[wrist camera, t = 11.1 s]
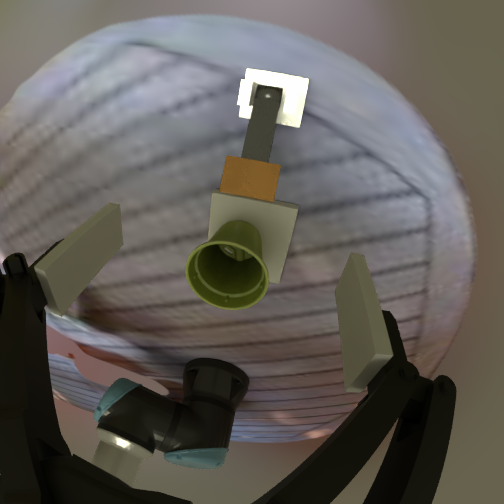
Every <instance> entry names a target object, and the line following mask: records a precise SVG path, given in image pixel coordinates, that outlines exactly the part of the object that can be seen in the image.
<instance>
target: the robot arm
mask: <svg viewBox="0 0 504 504" xmlns="http://www.w3.org/2000/svg"><path fill="white" fill-rule="evenodd" d="M122 246H123V235H122V224H121V212H120V204H114V203H109V204H107V205H106V206H105V207H103V208H102V209H101V210H99V211H98V212H97V213H95V214H94V215H93V216H92V217H90V218H89V219H88V220H87V221H85V222H84V223H83V224H82V225H80V226H79V227H78V228H77V229H76V230H74V231H73V232H72V233H71V234H70V235H68V236H67V237H66V238H65V239H62V240H60V241H58V242H56V243H55V244H54V245H53V246H51V247H50V249H48V250H47V251H46V252H45V254H43V255H41V256H40V257H39V258H38V259H37V260H36V261H35V262H34V263H33V264H32V265H31V266H30V267H29V268H28V265H27V262H26V259H25V256H24V254H23V253H14V254H11V255H10V256H8V257H7V258H6V259H5V260H4V261H3V263H2V264H3V267H4V270H5V272H6V275H4V274H2V272H1V269H0V474H1V475H0V504H193V503H192V502H191V501H188V500H184V499H180V498H177V497H173V496H170V495H167V494H164V493H161V492H155V491H147V490H140V489H134V488H133V486H134V483H135V480H136V477H137V474H138V471H139V468H140V465H141V462H142V460H144V459H146V458H149V457H151V456H153V453H154V450H155V449H157V450H159V451H162V452H164V459H165V460H166V461H168V462H171V463H173V464H177V465H180V466H185V467H190V468H198V469H216V468H219V467H221V466H222V465H223V464H224V461H225V457H226V453H227V452H228V450H229V449H228V446H229V441H230V436H231V431H232V426H233V421H234V416H235V411H236V409H237V408H238V406H239V404H240V403H241V401H242V400H243V398H244V396H245V395H246V393H247V390H248V385H249V379H248V377H247V376H246V374H245V373H244V372H243V371H242V370H240V369H239V368H237V367H235V366H233V365H231V364H229V363H226V362H223V361H220V360H215V359H196V360H193V361H190V362H189V363H188V364H187V365H186V367H185V370H184V373H183V392H184V397H183V400H182V403H179V402H176V401H174V400H172V399H169V398H167V397H165V396H163V395H160V394H158V393H156V392H154V391H152V390H150V389H148V388H146V387H144V386H142V385H141V384H138V383H135V382H133V381H131V380H129V379H126V378H120V379H118V380H116V381H115V382H114V383H113V384H112V385H111V386H110V387H109V389H108V390H107V391H106V393H105V394H104V396H103V397H102V399H101V401H100V402H99V406H98V407H97V409H96V410H95V413H94V419H95V420H96V422H98V423H99V424H98V426H97V429H96V431H97V433H98V436H99V438H100V442H99V444H98V447H97V449H96V452H95V454H94V457H93V459H92V462H91V463H89V462H87V461H86V460H84V459H82V458H80V457H78V456H77V455H75V454H73V456H72V455H71V453H70V450H69V448H68V445H67V444H66V442H65V440H64V439H63V437H62V435H61V432H60V428H59V424H58V419H57V414H56V409H55V404H54V399H53V393H52V386H51V379H50V372H49V362H48V351H47V339H46V338H47V337H46V312H45V309H44V307H45V305H46V304H47V303H48V305H49V308H50V310H51V312H53V313H55V314H57V315H59V316H61V317H62V316H63V315H64V313H65V312H66V311H67V309H68V308H69V307H70V306H71V304H72V303H73V302H74V301H75V299H76V298H77V297H78V296H79V294H80V293H81V292H82V291H83V290H84V288H85V287H86V286H87V285H88V284H89V283H90V281H91V280H92V279H93V278H94V277H95V276H96V274H97V273H98V272H99V271H100V270H101V269H102V268H103V266H104V265H105V264H106V263H107V262H108V261H109V260H110V259H111V258H112V256H113V255H114V254H115V253H116V252H117V251H118V250H119V249H120V248H121V247H122ZM335 297H336V304H337V312H338V320H339V329H340V338H341V348H342V359H343V371H344V385H345V391H347V392H362V391H363V390H364V389H365V387H366V386H367V387H368V394H367V395H366V396H365V397H364V398H363V399H362V400H361V401H360V402H359V403H358V404H357V405H358V406H357V407H356V408H355V409H354V410H353V412H352V413H351V414H350V415H349V416H348V417H347V418H346V420H345V421H344V422H343V423H342V424H341V425H340V426H339V427H338V428H337V429H336V430H335V431H334V433H333V434H332V435H331V436H330V437H329V438H328V439H327V440H326V441H325V442H324V443H323V444H322V445H321V446H320V447H319V448H318V449H317V450H316V451H315V452H314V453H313V454H312V455H310V456H309V457H308V458H307V459H306V460H305V461H304V462H303V463H302V464H301V465H300V466H298V467H297V468H296V469H295V470H294V471H293V472H292V473H290V474H289V475H288V476H287V477H286V478H284V479H283V480H282V481H281V482H280V483H278V484H277V485H276V486H275V487H273V488H272V489H271V490H269V492H267V493H266V494H264V495H263V496H262V497H260V498H259V499H258V500H256V501H255V502H253V503H252V504H330V503H331V502H332V501H333V500H334V499H335V498H336V497H337V496H338V495H339V494H340V492H341V491H342V490H343V489H344V488H345V487H346V486H347V485H348V484H349V483H350V482H351V480H352V479H353V478H354V477H355V475H357V473H358V472H359V471H360V470H361V469H362V467H363V466H364V465H365V464H366V462H367V461H368V460H369V459H370V457H371V456H372V455H373V453H374V452H375V451H376V449H377V448H378V446H379V445H380V444H381V442H382V441H383V440H384V438H385V437H386V435H387V434H388V432H389V431H390V430H391V428H392V427H393V425H394V423H395V422H396V420H397V419H398V418H399V419H398V422H397V425H396V428H395V431H394V434H393V437H392V439H391V442H390V445H389V447H388V450H387V453H386V455H385V458H384V460H383V463H382V465H381V467H380V469H379V471H378V474H377V476H376V478H375V481H374V482H373V485H372V487H371V489H370V491H369V493H368V495H367V497H366V499H365V500H364V503H363V504H432V501H433V498H434V496H435V493H436V489H437V487H438V483H439V480H440V477H441V473H442V469H443V466H444V462H445V458H446V454H447V449H448V444H449V440H450V435H451V429H452V423H453V416H454V409H455V401H456V386H455V384H454V382H453V381H452V380H451V379H450V378H449V377H447V376H444V375H440V376H438V377H437V378H436V379H435V380H434V381H432V380H429V379H427V378H424V377H421V376H420V375H419V372H418V370H417V368H416V367H415V366H414V365H413V364H412V363H410V362H408V361H407V357H406V354H405V350H404V346H403V343H402V339H401V337H400V332H399V330H398V326H397V322H396V319H395V318H394V317H393V315H392V314H391V312H390V311H385V310H381V307H380V303H379V300H378V297H377V293H376V290H375V287H374V284H373V281H372V278H371V274H370V271H369V268H368V266H367V263H366V260H365V257H364V255H360V254H356V253H352V252H351V254H350V257H349V259H348V262H347V264H346V266H345V269H344V271H343V274H342V276H341V278H340V281H339V283H338V285H337V287H336V290H335Z"/></svg>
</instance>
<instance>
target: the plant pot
mask: <svg viewBox="0 0 504 504" xmlns="http://www.w3.org/2000/svg"><path fill="white" fill-rule="evenodd" d="M224 248H227V249H228V250H229V251H230V252H232V254H230V253H228V252H227V251H226V250H225V249H224ZM248 253H250V254H248ZM185 273H186V278H187V281H188V283H189V285H190V287H191V289H192V290H193V291H194V293H195V294H196V295H197V296H198V297H199V298H201V299H202V300H203V301H205V302H206V303H208V304H210V305H213V306H215V307H218V308H221V309H227V310H240V309H245V308H248V307H251V306H253V305H255V304H256V303H258V302H259V301H260V300H261V299H262V298H263V297H264V295H265V293H266V292H267V289H268V285H269V273H268V270H267V267H266V265H265V263H264V262H263V259H262V241H261V236H260V234H259V232H258V230H257V229H256V228H255V227H254V226H253V225H251V224H250V223H248V222H245V221H229V222H227V223H225V224H224V225H222V226H221V228H220V229H219V230H218V231H217V232H216V233H215V234H214V236H213V237H212V238H211V239H210V240H209V241H208V242H206V243H204V244H202V245H200V246H198V247H197V248H196V249H195V250H194V251H193V252H192V253H191V254H190V256H189V258H188V260H187V262H186V268H185Z"/></svg>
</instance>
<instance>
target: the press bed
mask: <svg viewBox="0 0 504 504" xmlns="http://www.w3.org/2000/svg"><path fill="white" fill-rule="evenodd" d="M297 213H298V205H295V204H291V203H286V202H281V201H276V200H274V202H273V203H270V202H265V201H260V200H255V199H250V198H245V197H240V196H234V195H229V194H224V193H221V192H220V191H219V189H215V190H214V191H213V192H212V201H211V211H210V221H209V233H208V241H209V240H210V239H211V238H212V237H213V236H214V234H215V233H216V232H217V231H218V230H219V229H220V228H221V226H222V225H224V224H225V223H227V222H229V221H245V222H248V223H250V224H251V225H253V226H254V227H255V228H256V229H257V230H258V232H259V234H260V236H261V241H262V259H263V262H264V263H265V265H266V267H267V270H268V273H269V282H271V283H276V284H279V282H280V278H281V274H282V271H283V267H284V263H285V259H286V256H287V252H288V248H289V244H290V241H291V237H292V233H293V229H294V225H295V221H296V217H297ZM224 249H225V250H226V251H227V252H228V253H230V254H232V252H230V251H229V250H228V249H227V248H224ZM248 254H250V253H248Z"/></svg>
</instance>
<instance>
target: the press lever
mask: <svg viewBox="0 0 504 504" xmlns="http://www.w3.org/2000/svg"><path fill="white" fill-rule="evenodd" d="M282 93H283V88H279V87H273V86H267V85H261V84H258V85H257V88H256V93H255V99H254V103H253V107H252V112H251V116H250V120H249V125H248V129H247V134H246V138H245V143H244V147H243V152H242V157H241V158H240V157H234V156H227V157H226V162H225V166H224V171H223V175H222V180H221V185H220V190H219V191H220V192H221V193H224V194H229V195H234V196H240V197H245V198H250V199H255V200H260V201H265V202H270V203H273V202H274V198H275V193H276V188H277V183H278V178H279V173H280V168H281V165H277V164H272V163H268V162H269V157H270V152H271V147H272V142H273V137H274V132H275V128H276V123H277V118H278V113H279V108H280V104H281V99H282Z"/></svg>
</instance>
